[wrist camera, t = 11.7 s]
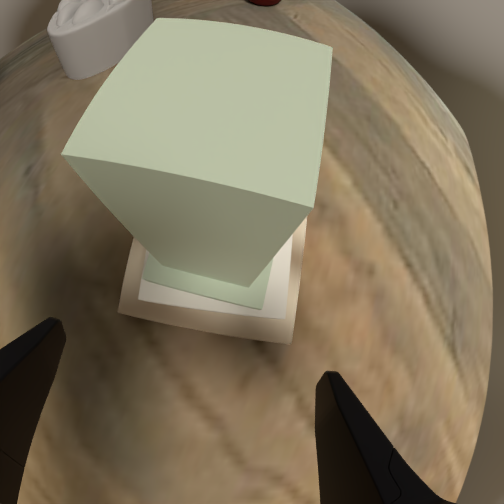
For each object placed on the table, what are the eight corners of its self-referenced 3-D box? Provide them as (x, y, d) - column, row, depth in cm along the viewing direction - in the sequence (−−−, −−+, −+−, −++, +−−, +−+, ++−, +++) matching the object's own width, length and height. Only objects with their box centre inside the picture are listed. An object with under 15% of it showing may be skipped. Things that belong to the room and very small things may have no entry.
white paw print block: (163, 19, 27) (160, -33, 19) (113, 81, 24) (94, 18, 15) (99, 20, 26) (89, -25, 18) (46, 80, 23) (21, 31, 15)
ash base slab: (284, 342, 21) (291, 344, 19) (125, 313, 20) (117, 312, 18) (302, 194, 24) (309, 184, 22) (161, 168, 23) (157, 156, 21)
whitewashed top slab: (278, 319, 19) (285, 319, 17) (145, 301, 19) (137, 299, 17) (288, 196, 22) (295, 184, 20) (169, 179, 21) (165, 166, 19)
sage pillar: (259, 310, 17) (358, 278, 5) (147, 281, 17) (10, 191, 4) (282, 203, 19) (365, 43, 6) (179, 179, 19) (143, 4, 6)
